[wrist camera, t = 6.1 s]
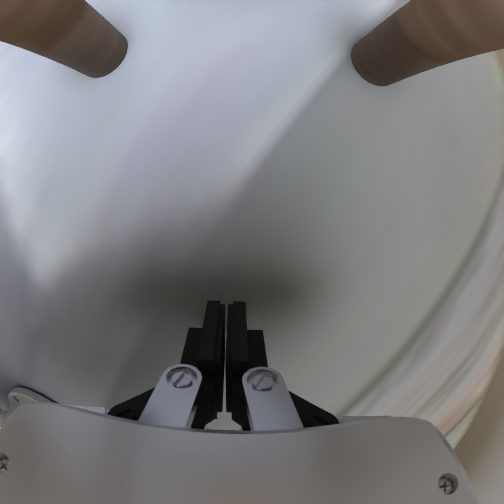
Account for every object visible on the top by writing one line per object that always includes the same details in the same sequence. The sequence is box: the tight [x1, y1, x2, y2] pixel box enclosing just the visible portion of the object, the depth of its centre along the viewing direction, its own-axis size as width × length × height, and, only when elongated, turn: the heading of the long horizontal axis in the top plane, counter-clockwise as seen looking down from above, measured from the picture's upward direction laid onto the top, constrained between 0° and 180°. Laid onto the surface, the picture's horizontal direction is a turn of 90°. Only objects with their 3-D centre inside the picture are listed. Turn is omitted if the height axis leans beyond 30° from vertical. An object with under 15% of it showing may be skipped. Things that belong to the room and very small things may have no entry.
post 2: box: [352, 0, 504, 86], centre depth 5 cm, size 3×3×9 cm
